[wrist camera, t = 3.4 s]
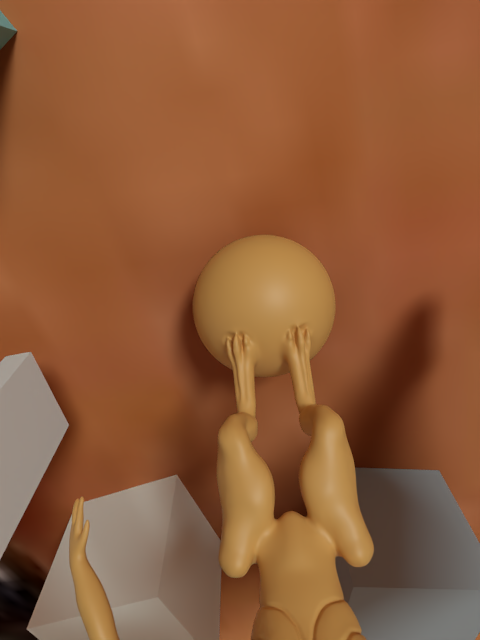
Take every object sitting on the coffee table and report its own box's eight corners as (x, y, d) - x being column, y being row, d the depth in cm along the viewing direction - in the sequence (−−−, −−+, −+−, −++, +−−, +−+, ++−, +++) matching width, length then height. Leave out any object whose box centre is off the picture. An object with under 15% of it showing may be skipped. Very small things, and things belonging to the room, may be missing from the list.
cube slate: (307, 539, 20) (328, 664, 15) (323, 465, 18) (353, 586, 13) (408, 542, 20) (458, 666, 16) (438, 469, 18) (505, 590, 13)
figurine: (390, 201, 12) (1371, 822, 2) (383, 367, 15) (735, 991, 4) (118, 237, 13) (-460, 913, 2) (161, 391, 16) (2, 1017, 5)
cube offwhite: (130, 565, 21) (101, 690, 16) (76, 503, 18) (26, 629, 14) (222, 541, 20) (218, 666, 15) (176, 473, 18) (157, 597, 13)
